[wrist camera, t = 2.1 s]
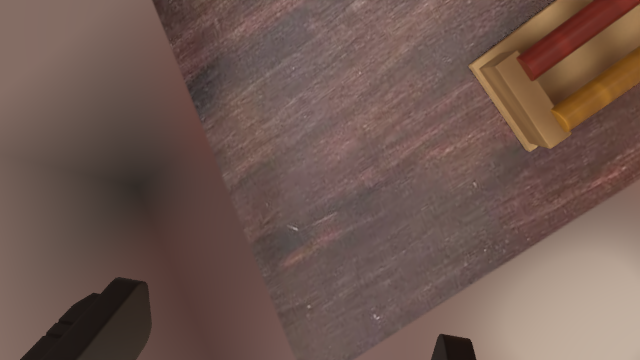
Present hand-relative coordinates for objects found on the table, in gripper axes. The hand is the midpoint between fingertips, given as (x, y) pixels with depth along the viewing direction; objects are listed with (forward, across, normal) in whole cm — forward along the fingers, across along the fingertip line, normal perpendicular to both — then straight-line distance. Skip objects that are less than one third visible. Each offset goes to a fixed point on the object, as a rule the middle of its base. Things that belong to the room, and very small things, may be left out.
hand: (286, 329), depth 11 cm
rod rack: (+27, -18, -6) cm, 33 cm away
